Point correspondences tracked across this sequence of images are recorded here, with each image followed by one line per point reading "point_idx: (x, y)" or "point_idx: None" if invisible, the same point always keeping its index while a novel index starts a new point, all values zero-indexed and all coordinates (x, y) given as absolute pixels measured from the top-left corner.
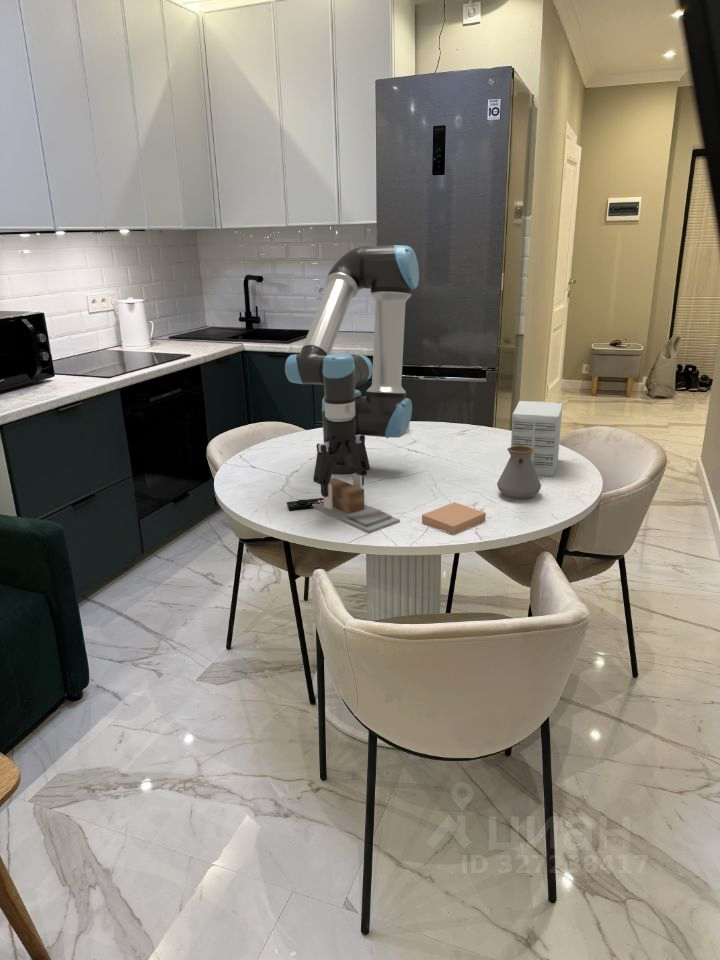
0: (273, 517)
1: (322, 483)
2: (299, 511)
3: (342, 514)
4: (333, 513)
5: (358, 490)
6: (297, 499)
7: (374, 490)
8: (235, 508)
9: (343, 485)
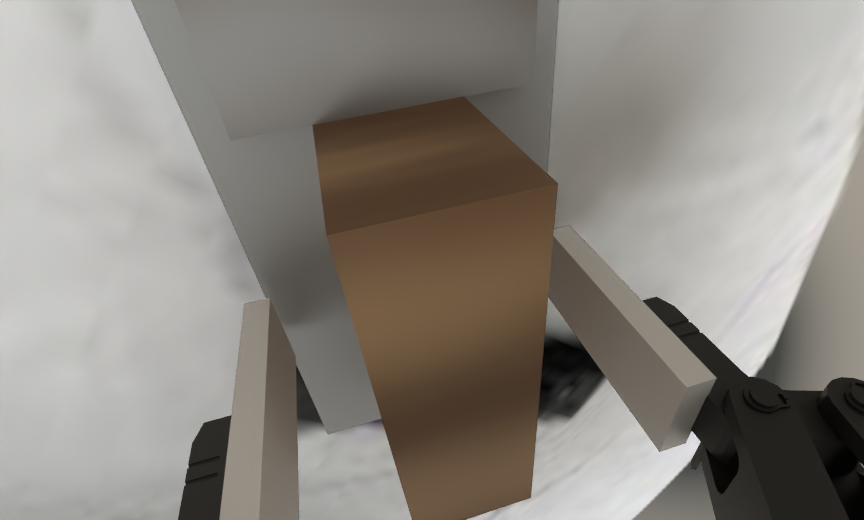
0: (729, 303)
1: (792, 399)
2: None
3: None
4: None
5: (422, 228)
6: None
7: (55, 453)
8: None
9: (464, 409)
